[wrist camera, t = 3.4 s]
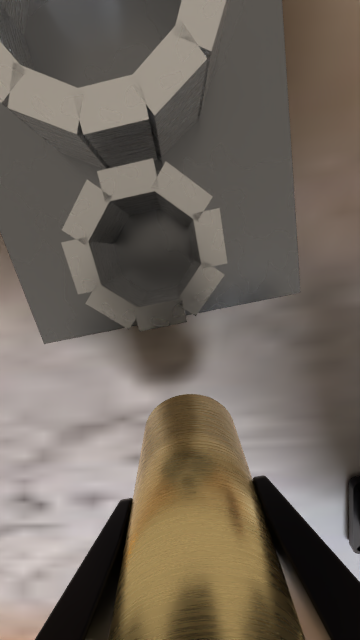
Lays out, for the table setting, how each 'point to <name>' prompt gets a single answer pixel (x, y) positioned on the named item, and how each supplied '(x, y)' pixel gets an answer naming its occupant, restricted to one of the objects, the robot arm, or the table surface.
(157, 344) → the table surface
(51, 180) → the plate
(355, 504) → the robot arm
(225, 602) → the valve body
